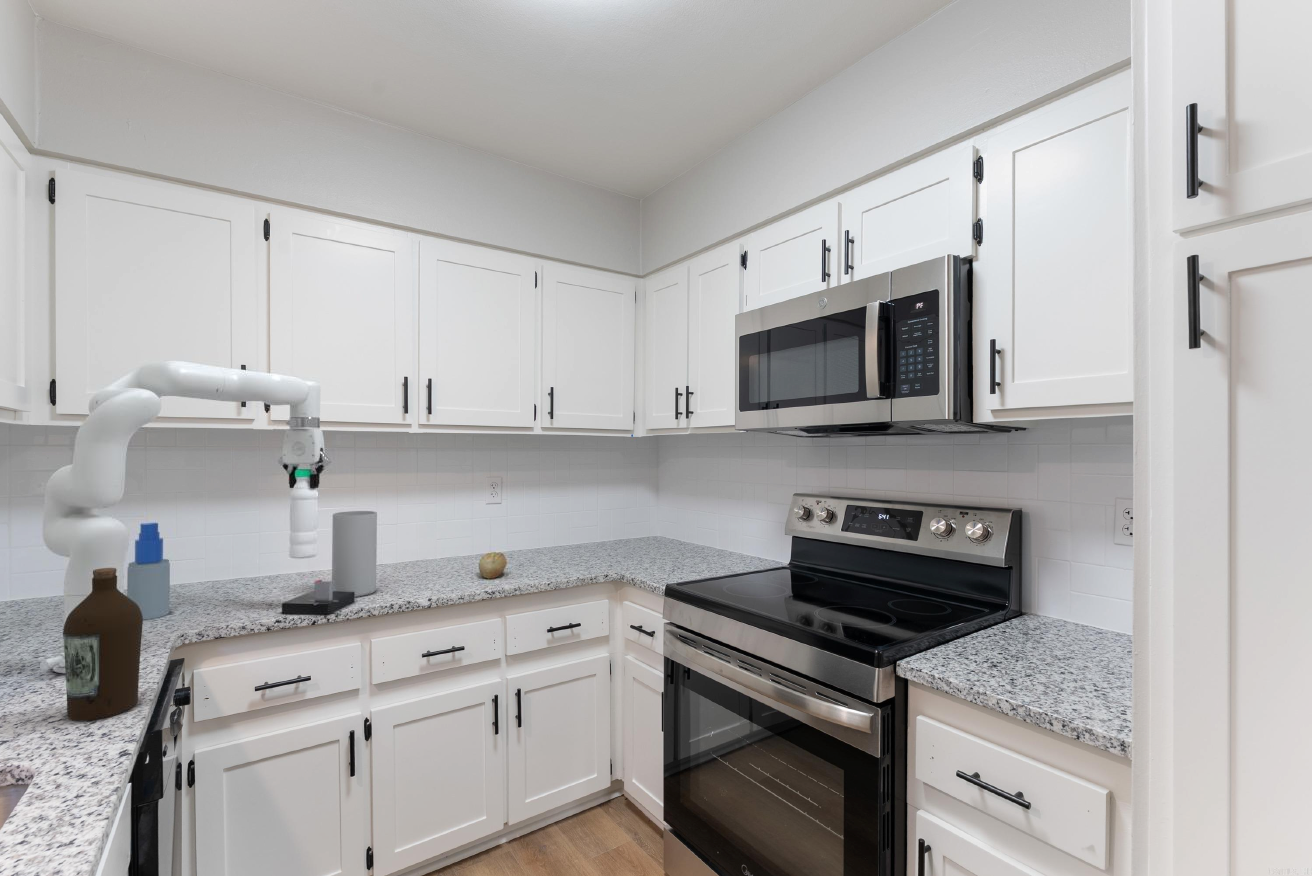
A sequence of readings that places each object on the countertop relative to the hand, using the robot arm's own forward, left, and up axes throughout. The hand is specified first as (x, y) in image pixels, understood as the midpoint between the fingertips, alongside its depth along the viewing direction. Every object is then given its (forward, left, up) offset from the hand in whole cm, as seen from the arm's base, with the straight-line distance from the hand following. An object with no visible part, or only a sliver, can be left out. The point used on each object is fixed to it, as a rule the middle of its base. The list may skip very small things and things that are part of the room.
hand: (304, 487), depth 178 cm
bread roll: (+47, -41, -35) cm, 71 cm away
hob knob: (-3, -8, -31) cm, 33 cm away
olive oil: (-67, -5, -35) cm, 75 cm away
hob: (+1, -5, -34) cm, 35 cm away
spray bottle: (-10, +36, -35) cm, 51 cm away
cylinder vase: (+18, -6, -35) cm, 39 cm away
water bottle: (0, 0, -20) cm, 20 cm away
